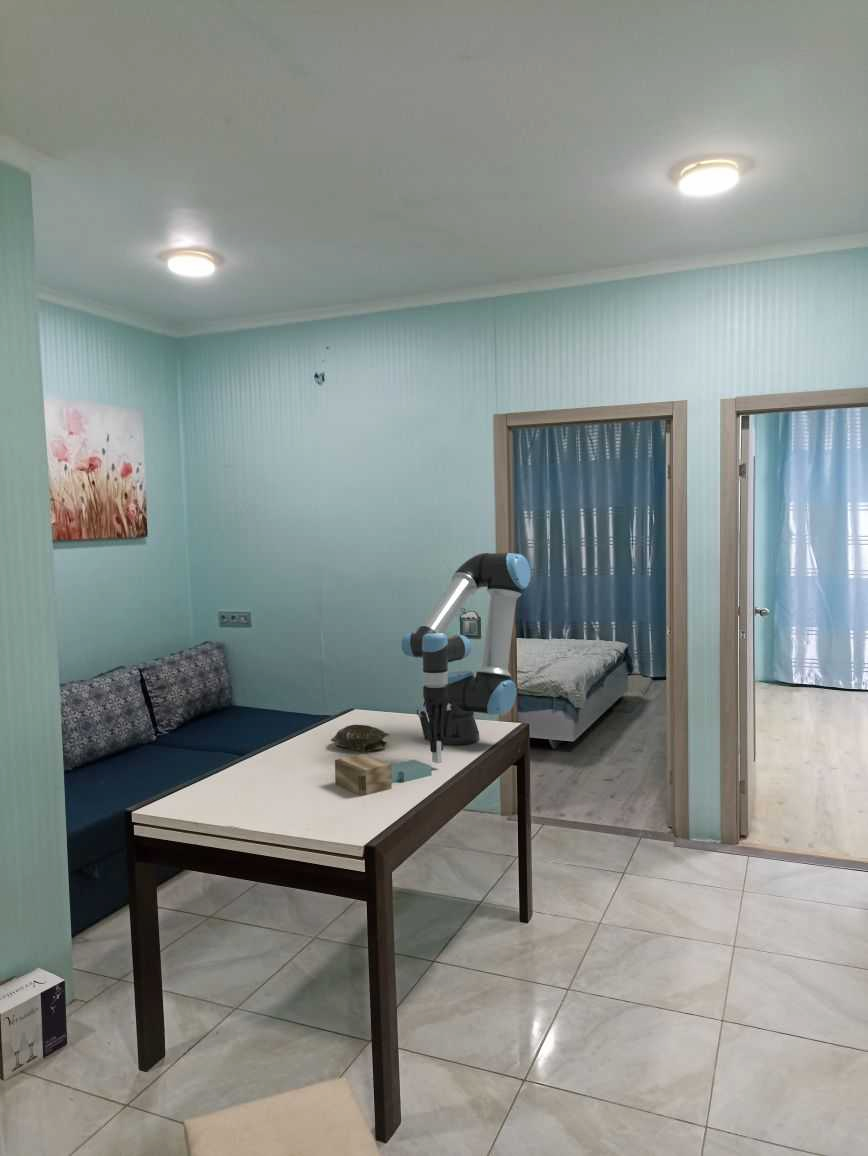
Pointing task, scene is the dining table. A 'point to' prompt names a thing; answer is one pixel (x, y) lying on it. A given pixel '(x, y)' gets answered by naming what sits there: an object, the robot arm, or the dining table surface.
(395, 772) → the teal tabbed plate
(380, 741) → the turtle shell
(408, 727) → the dining table surface
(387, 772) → the overhang
